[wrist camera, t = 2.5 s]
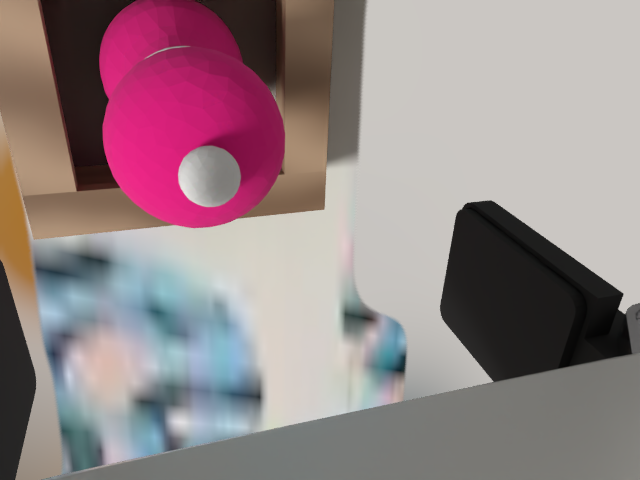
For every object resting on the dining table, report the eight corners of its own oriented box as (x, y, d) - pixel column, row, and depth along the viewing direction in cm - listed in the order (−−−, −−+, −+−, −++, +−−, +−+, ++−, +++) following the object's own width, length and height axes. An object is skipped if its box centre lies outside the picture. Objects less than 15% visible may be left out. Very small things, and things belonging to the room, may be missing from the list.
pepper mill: (152, -43, 28) (183, -18, 12) (253, 47, 32) (385, 162, 16) (76, 63, 30) (10, 219, 13) (182, 138, 34) (234, 331, 17)
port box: (-24, -119, 25) (-64, -134, 20) (301, -96, 29) (339, -104, 24) (49, 191, 33) (33, 239, 27) (297, 171, 37) (324, 209, 32)
